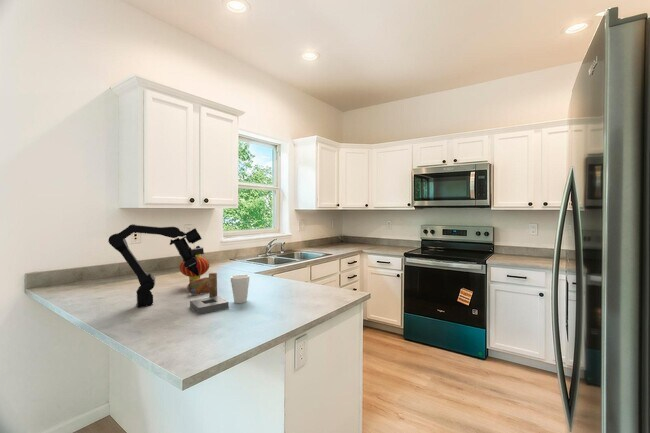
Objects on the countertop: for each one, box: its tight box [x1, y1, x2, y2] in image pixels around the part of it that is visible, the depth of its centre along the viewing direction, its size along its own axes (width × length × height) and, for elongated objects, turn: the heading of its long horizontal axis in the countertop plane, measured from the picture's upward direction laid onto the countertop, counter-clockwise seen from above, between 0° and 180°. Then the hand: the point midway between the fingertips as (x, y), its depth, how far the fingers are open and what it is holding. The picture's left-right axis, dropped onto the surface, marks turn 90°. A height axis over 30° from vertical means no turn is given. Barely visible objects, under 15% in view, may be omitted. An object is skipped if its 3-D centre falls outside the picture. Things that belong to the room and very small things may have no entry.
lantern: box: [179, 254, 210, 284], centre depth 195 cm, size 17×17×30 cm
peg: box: [208, 272, 218, 297], centre depth 165 cm, size 4×4×14 cm
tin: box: [187, 276, 209, 296], centre depth 179 cm, size 15×3×8 cm, turn 143°
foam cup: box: [230, 273, 250, 304], centre depth 162 cm, size 10×9×13 cm
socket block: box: [189, 295, 230, 315], centre depth 152 cm, size 14×14×3 cm
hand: (198, 273), depth 167 cm, fingers open, 9 cm apart
